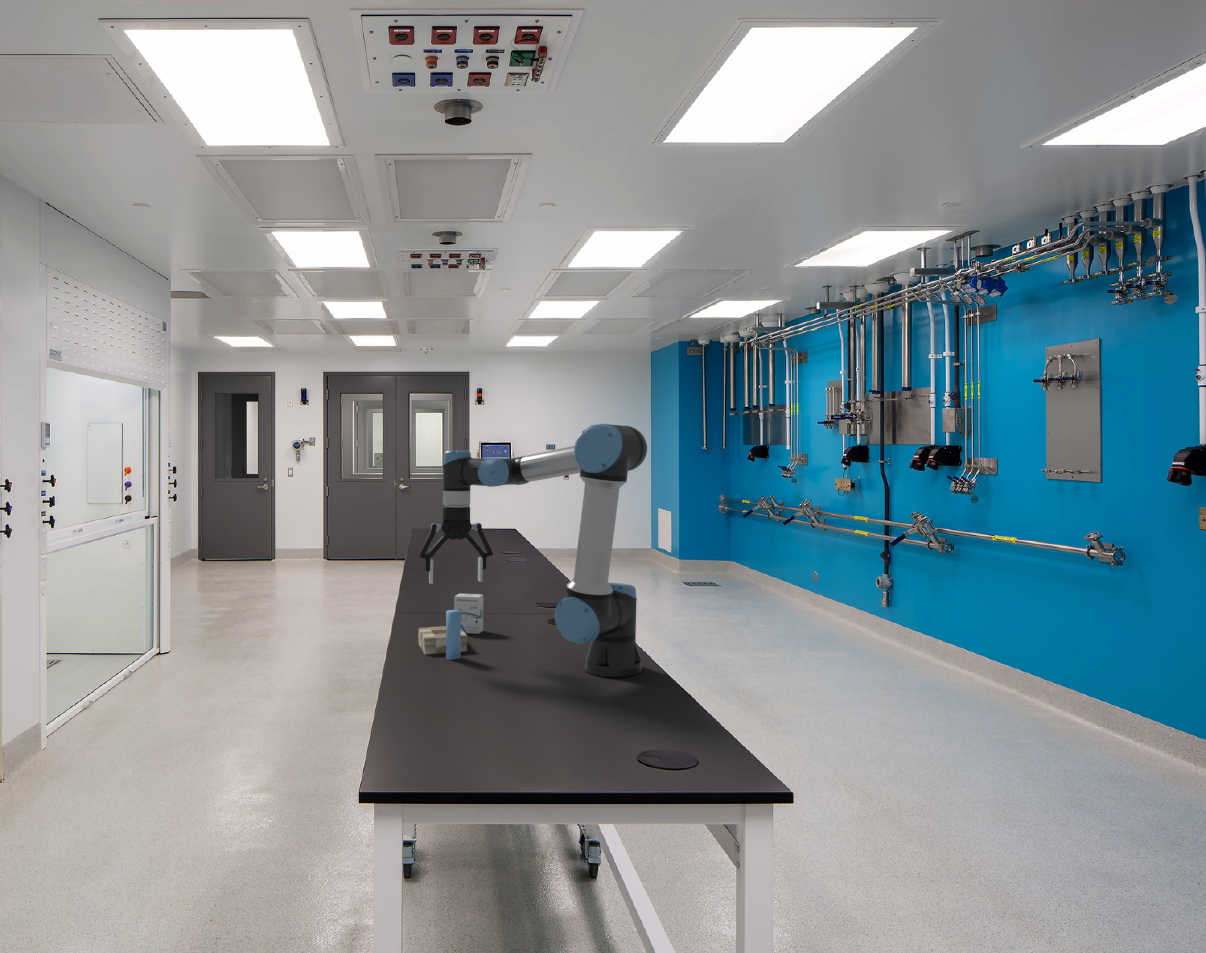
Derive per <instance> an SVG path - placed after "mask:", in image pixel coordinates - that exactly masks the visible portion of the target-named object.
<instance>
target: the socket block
mask: <svg viewBox="0 0 1206 953" xmlns="http://www.w3.org/2000/svg"><path fill="white" fill-rule="evenodd" d="M417 632H418V633H417V638H418V639H417V644H418V645H419V647H420V649H421V651H422V652H423V653H424V655H435V654H437V655H438V654H446V625H445V626H443V625H442V626H430V627H429V626H428V627H418V630H417ZM461 652H468V635H467V633H465V632H464V631H463V630H462V629H461Z"/></svg>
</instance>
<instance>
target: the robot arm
mask: <svg viewBox="0 0 1206 953" xmlns="http://www.w3.org/2000/svg"><path fill="white" fill-rule="evenodd" d="M647 454H648V444H647V441H646V438H645V436H644V435H643V433H642V432H641V431H640V430H638V429H636V428H635V427H633V426H630V425H620V424H619V425H618V424H609V423H600V424H598V423H597V424H591V425H589V426H588V427H586V428H585V429H584V430H582V431H581V432H580V433H579V435H578V436H577V438H576V440H575V443H574V445H572V446H567V447H562V448H557V449H553V450H552V449H551V450H547V451H543V452H537V453H531V454H528V455H521V456H518V457H510V458H504V457H503V458H501V457H500V458H498V457H488V458H487V457H484V458H482V457H481V458H480V457H479V458H478V457H472V453H471V451H470V450H446V451H444V454H443V461H442V473H443V474H442V478H443V479H442V480H443V481H442V484H443V487H442V504H443V507H442V522H441V524H439V523H431V525H430V531H429V533H428V535H427V537H426V538H425V541H424V542H423V545H422V546H421V549H420V550H419V552H418V557H419V558H421V559H424V567H425V568H424V569H425V571H426V572H428V583H429V584H430V585H431V584H432V585H433V584H434V559H433V558H432V557H433V556H434V555H435V554H436V553H437V552H438V550H439V549H440V548H441V547H442V546H443V545H444V543H445V542H447V541H448V539H449V540H452V541H455V540H464V539H466V541H467V542H468V543H469V544H470V545H471V546H472V547H473V549H474V550H475V551H476V552H477V553H478V555H480V556H479V557H477V581H478V582H480V583H482V582H483V570H486V568H487V558H488V557H491V556H493V554H494V552H493V551H492V548H491V546H490V544H489V542H488V540H487V538H486V535H485V534H484V532H483V527H482V523H481V522H476V523H471V507H470V505H471V487H472V486H479V487H489V488H492V487H493V488H495V487H501V486H511V485H513V486H514V485H516V486H520V485H521V486H522V485H526V484H529V483H530V482H537V481H543V480H547V479H553V478H559V477H565V476H571V475H575V474H579V478H580V479H581V480H582V481H583V483H584V488H583V489H584V490H583V498H582V507H581V514H580V515H581V516H580V524H579V530H578V540H577V549H576V555H575V556H576V557H575V567H574V574H573V579H572V580H570V581H569V582H568V583H566V589H565V595H564V598H563V599H562V600H561V601H560V602H559V603H557V605H556V607H555V610H554V611H555V612H554V621H555V626H556V628H557V629H558V630H557V631H559V632H560V633H561V636H562V637H564V639H566V640H567V641H568V642H570V643H573V644H574V643H575V644H585V643H590V646H589V648H588V652H587V655H586V657H585V659H584V660H585V661H584V670H585V671H586V672H587V673H589V674H591V675H594V676H598V677H605V678H606V677H607V678H624V677H631V676H635V675H638V674H640V673H641V672H642V670H643V662H642V661H643V660H642V657H641V654H640V651H639V648H638V645H637V642H636V641H637V640H636V638H637V635H636V634H637V633H636V632H637V601H638V597H637V590H636V587H635V586H634V585H632V584H627V583H618V582H609V576H610V568H611V561H612V551H613V545H614V537H615V536H614V535H615V528H616V520H617V512H618V504H619V495H620V488H621V487H622V486H624V485H625V484H627V482H628V481H627V480H628V474H629V473H628V472H630V471H634V470H635V469H637V468H638V467H640V466H641V465H642V464H643V463H644V461H645V459H646V457H647ZM472 529H473V531H475V532H476V534H477V535H478V538H479V539H480V542H481V543H482V545H483V548H484V550H485V552H484V550H483V549H482V548H481V547H480V545H479V544H478V543H477V542H476V540H474V539H473V537H472V536H471V535H470V534H469V533H470V531H471V530H472ZM439 530H441V531H442V532H443V534H442V535H441V536H440V538H439V539H438V540H437V541H436V542H435V544H434V545H433V546H432V547H431V548H430V550H429V551H428V549H429V547H430V545H431V544H432V541H433V539H434V537H435V535H436V533H438V532H439ZM427 551H428V552H427Z"/></svg>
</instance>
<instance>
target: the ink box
mask: <svg viewBox="0 0 1206 953" xmlns="http://www.w3.org/2000/svg"><path fill="white" fill-rule="evenodd" d="M453 598H454V599H453V602H454V603H453V604H454V605H453V610H460V611H461V629H462V630H463V631H464V632H465V634H476V635H479V634H480V633H482V632H483V631H484V595H483V594H482V593H481V594H480V593H458V594H455V595H454V597H453Z"/></svg>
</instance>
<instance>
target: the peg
mask: <svg viewBox="0 0 1206 953" xmlns="http://www.w3.org/2000/svg"><path fill="white" fill-rule="evenodd" d="M445 612H446V613H445V614H446V615H445V617H446V618H445V626H446V653H445V659H446V660H449V661H451V660H452V661H453V660H455V661H456V660H459V659H461V654H462V653H461V611H460V610H454V609H448V610H446V611H445Z"/></svg>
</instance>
